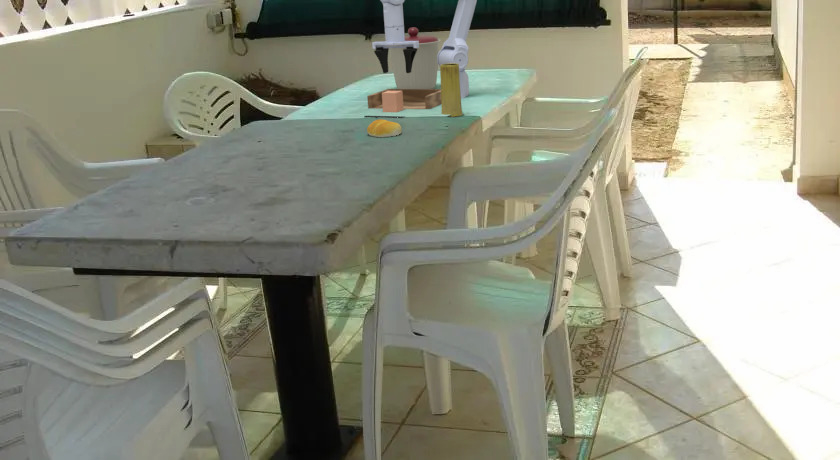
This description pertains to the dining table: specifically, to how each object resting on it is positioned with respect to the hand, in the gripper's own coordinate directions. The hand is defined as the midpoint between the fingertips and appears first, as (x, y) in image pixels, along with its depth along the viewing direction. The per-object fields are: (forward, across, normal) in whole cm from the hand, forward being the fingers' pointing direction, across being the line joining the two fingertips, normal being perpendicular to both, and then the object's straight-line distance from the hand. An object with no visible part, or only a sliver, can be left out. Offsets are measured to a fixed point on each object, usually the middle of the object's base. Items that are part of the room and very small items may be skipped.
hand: (397, 72), depth 266 cm
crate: (+10, +3, 0) cm, 11 cm away
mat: (+10, +3, -12) cm, 17 cm away
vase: (+11, +22, -12) cm, 27 cm away
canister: (+11, -9, +33) cm, 36 cm away
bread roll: (+11, +14, -40) cm, 44 cm away
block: (+10, +3, -10) cm, 15 cm away
